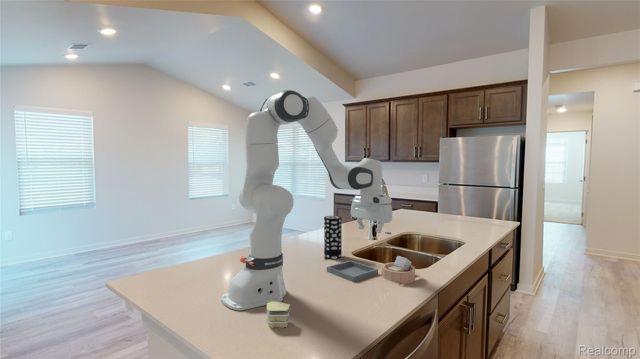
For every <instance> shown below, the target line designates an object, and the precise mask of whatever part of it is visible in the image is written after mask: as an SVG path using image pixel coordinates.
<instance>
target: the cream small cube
mask: <svg viewBox="0 0 640 359" xmlns="http://www.w3.org/2000/svg"><path fill="white" fill-rule="evenodd" d="M388 270H390V271H395V272H404V268H402V267H398V266H392V267H389V268H388Z"/></svg>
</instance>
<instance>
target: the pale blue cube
mask: <svg viewBox="0 0 640 359" xmlns="http://www.w3.org/2000/svg"><path fill="white" fill-rule="evenodd" d="M394 262H395V263H394V265H395V266H398V267H402V268H404V271H407V272H408V270H409V268H410V265H412V261H411V260H409V259H408V258H407V257H403V256H401V255H397V256H396V258H395V261H394Z"/></svg>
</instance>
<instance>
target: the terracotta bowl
mask: <svg viewBox="0 0 640 359" xmlns="http://www.w3.org/2000/svg"><path fill="white" fill-rule="evenodd" d="M394 263H395V261H394V262H387V263H382V264H383V265H382V266H381V277H382V278H383V279H384V280H385V281H390V282H393V283H394V282H395V283H399V285H410V284H413V283H415V281H416V267H415V266H414V265H412V264H411V265H410V268H409V270H408V272H407V271H404V272H395V271H390V270H388V268H389V267H392V266H395V265H394Z"/></svg>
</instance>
